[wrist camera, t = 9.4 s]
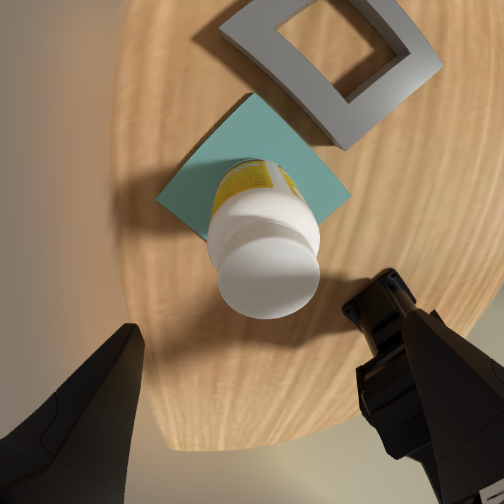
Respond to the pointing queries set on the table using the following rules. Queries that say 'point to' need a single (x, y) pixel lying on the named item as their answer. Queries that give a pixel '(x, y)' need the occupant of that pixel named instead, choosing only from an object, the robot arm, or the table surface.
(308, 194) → the mat
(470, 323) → the table surface
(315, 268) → the supplement bottle
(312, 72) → the socket block
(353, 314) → the robot arm
